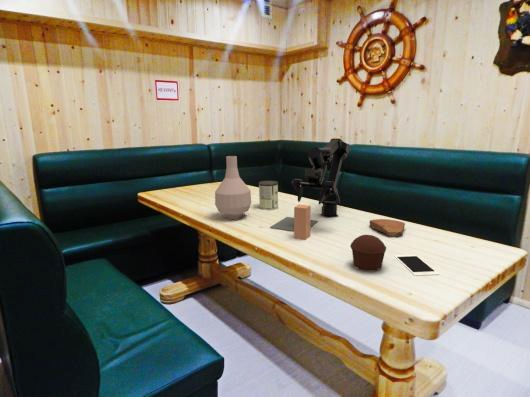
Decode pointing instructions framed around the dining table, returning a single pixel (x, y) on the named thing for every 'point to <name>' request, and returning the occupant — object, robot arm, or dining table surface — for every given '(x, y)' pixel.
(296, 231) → the terracotta block
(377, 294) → the dining table surface
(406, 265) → the cell phone
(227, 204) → the vase
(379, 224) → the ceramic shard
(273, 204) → the coffee can
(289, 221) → the charcoal mat
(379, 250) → the muffin
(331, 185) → the robot arm
